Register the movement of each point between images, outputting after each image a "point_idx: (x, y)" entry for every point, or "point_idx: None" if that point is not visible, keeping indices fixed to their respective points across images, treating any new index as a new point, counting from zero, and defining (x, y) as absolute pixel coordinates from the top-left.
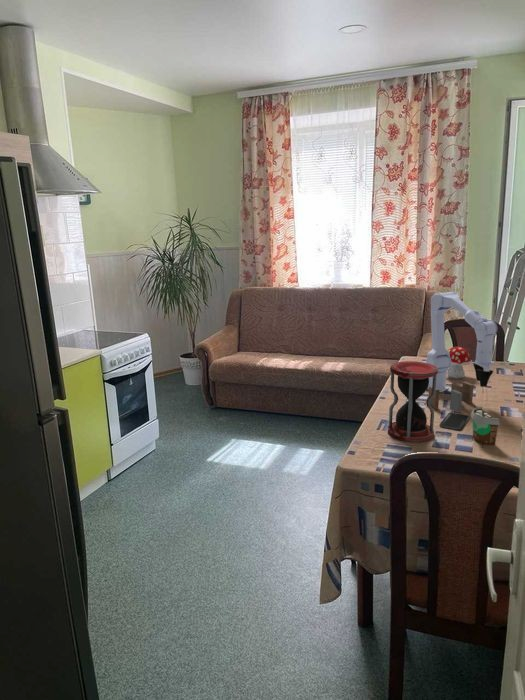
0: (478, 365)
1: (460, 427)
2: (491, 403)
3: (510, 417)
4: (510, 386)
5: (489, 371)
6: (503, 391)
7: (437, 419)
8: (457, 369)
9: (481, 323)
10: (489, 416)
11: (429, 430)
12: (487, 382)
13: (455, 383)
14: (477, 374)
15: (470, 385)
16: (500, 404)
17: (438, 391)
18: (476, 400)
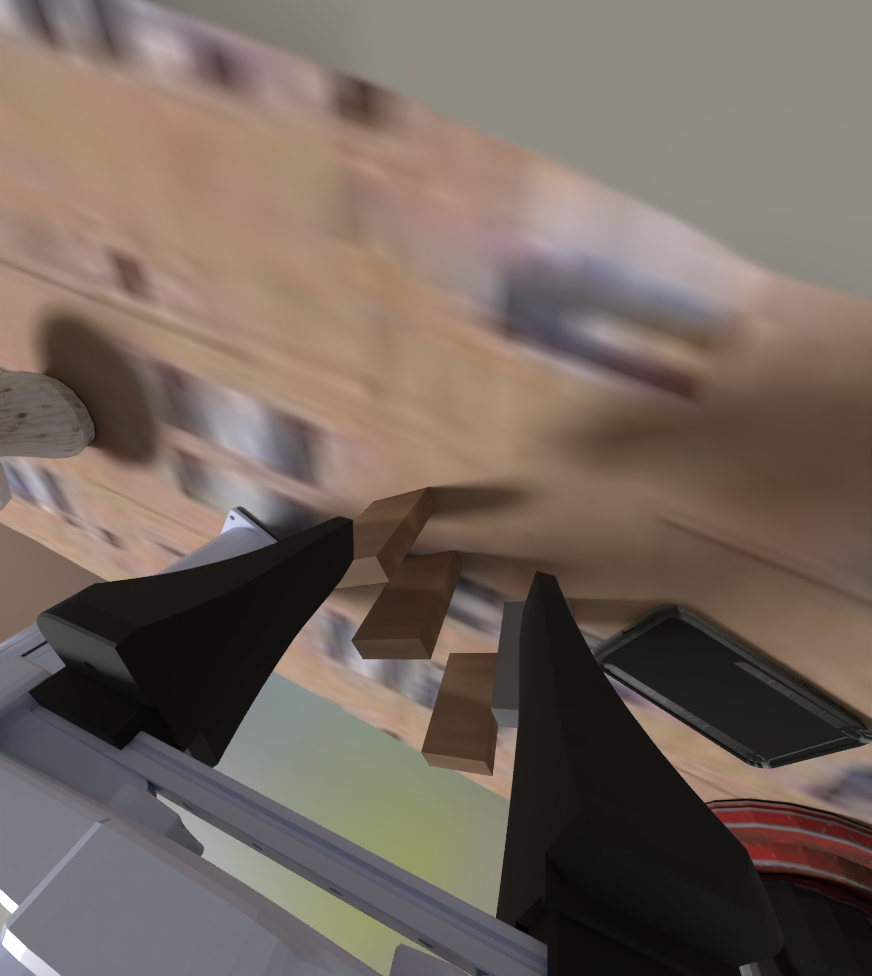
0: (202, 725)
1: (846, 723)
2: (427, 371)
3: (765, 331)
4: (42, 64)
5: (716, 949)
6: (171, 178)
7: (649, 719)
8: (21, 427)
9: None
10: None
11: (866, 862)
12: (571, 617)
13: (360, 642)
14: (309, 607)
15: (389, 580)
16: (446, 308)
17: (488, 751)
18: (381, 445)
